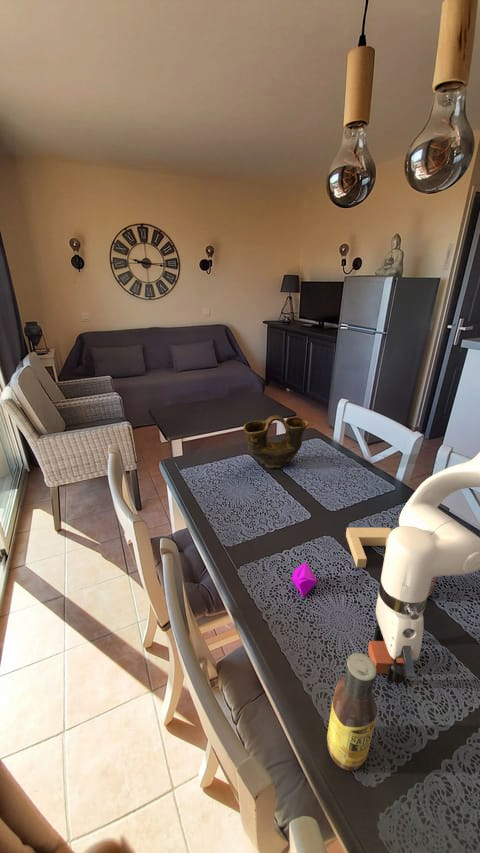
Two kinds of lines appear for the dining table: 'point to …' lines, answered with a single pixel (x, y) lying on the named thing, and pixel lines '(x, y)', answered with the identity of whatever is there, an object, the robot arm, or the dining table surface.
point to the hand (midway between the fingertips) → (388, 658)
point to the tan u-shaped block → (365, 541)
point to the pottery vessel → (275, 450)
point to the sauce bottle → (353, 713)
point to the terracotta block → (380, 656)
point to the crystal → (304, 579)
